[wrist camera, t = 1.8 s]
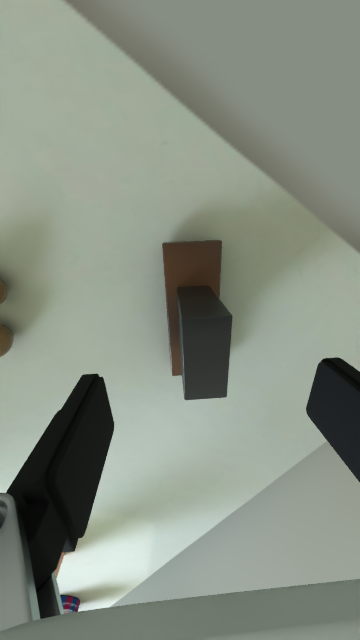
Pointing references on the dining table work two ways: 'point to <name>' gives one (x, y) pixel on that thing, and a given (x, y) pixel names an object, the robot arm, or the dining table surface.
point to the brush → (197, 317)
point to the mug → (70, 604)
